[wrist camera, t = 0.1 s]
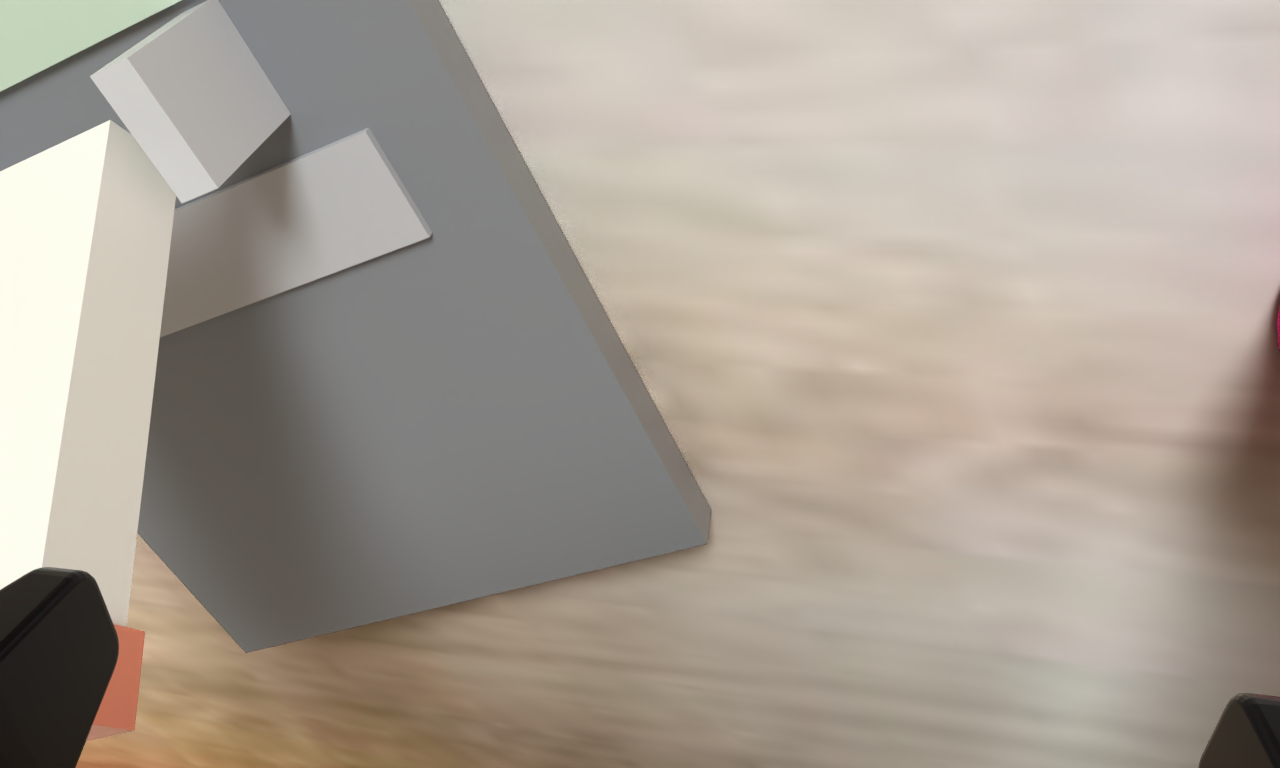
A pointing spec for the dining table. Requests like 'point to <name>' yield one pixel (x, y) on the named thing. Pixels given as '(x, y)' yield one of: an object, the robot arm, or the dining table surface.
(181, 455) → the switch panel
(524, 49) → the dining table surface
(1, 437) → the switch lever
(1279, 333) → the pepper mill
